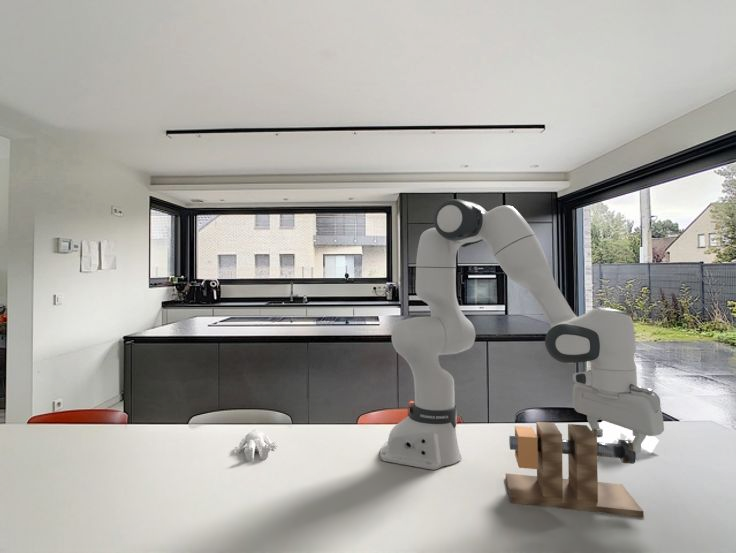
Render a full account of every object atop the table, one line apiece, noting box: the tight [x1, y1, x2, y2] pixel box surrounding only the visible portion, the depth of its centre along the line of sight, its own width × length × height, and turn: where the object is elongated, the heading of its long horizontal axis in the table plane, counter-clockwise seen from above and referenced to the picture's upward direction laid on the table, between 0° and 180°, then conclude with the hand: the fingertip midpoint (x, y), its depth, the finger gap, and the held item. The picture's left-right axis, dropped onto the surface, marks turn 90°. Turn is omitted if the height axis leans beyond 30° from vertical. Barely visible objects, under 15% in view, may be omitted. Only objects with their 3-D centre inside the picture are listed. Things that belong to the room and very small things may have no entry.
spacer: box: [514, 425, 538, 470], centre depth 97 cm, size 4×7×7 cm, turn 167°
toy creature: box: [233, 429, 278, 463], centre depth 120 cm, size 12×6×12 cm
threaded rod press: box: [505, 421, 645, 518], centre depth 95 cm, size 26×12×15 cm, turn 77°
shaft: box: [508, 435, 637, 465], centre depth 95 cm, size 26×5×5 cm, turn 77°
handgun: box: [597, 420, 660, 454], centre depth 120 cm, size 18×3×14 cm
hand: (615, 443), depth 93 cm, fingers open, 8 cm apart
